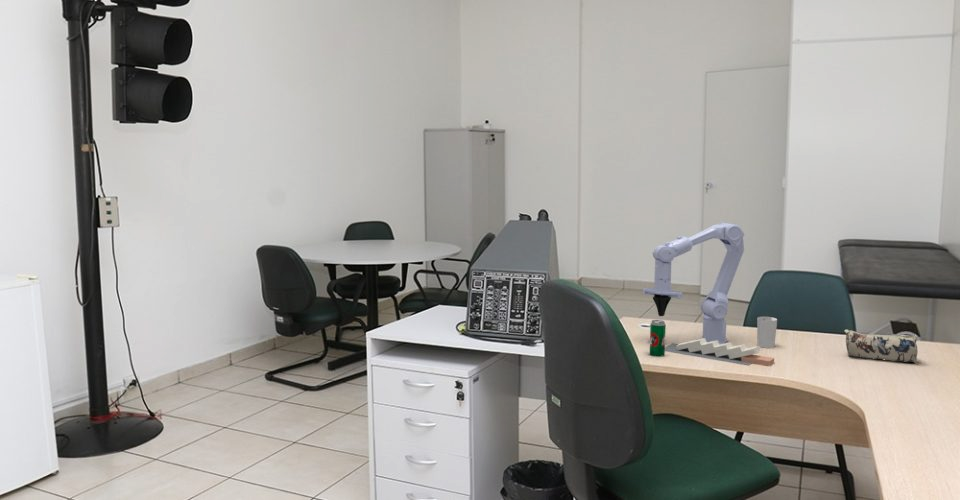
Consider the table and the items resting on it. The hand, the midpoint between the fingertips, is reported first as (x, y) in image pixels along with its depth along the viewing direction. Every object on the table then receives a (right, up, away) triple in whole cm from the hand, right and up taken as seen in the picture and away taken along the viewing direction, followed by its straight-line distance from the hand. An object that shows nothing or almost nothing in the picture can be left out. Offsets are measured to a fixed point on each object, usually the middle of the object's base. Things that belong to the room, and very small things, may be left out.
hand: (661, 315), depth 264 cm
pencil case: (+69, -13, -18) cm, 72 cm away
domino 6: (+22, -12, -21) cm, 33 cm away
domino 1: (+5, -10, -7) cm, 13 cm away
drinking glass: (+37, -11, -1) cm, 39 cm away
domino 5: (+19, -12, -19) cm, 29 cm away
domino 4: (+15, -11, -16) cm, 25 cm away
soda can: (-5, -13, -15) cm, 20 cm away
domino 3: (+12, -11, -13) cm, 21 cm away
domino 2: (+8, -11, -10) cm, 17 cm away
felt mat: (+13, -12, -14) cm, 22 cm away
